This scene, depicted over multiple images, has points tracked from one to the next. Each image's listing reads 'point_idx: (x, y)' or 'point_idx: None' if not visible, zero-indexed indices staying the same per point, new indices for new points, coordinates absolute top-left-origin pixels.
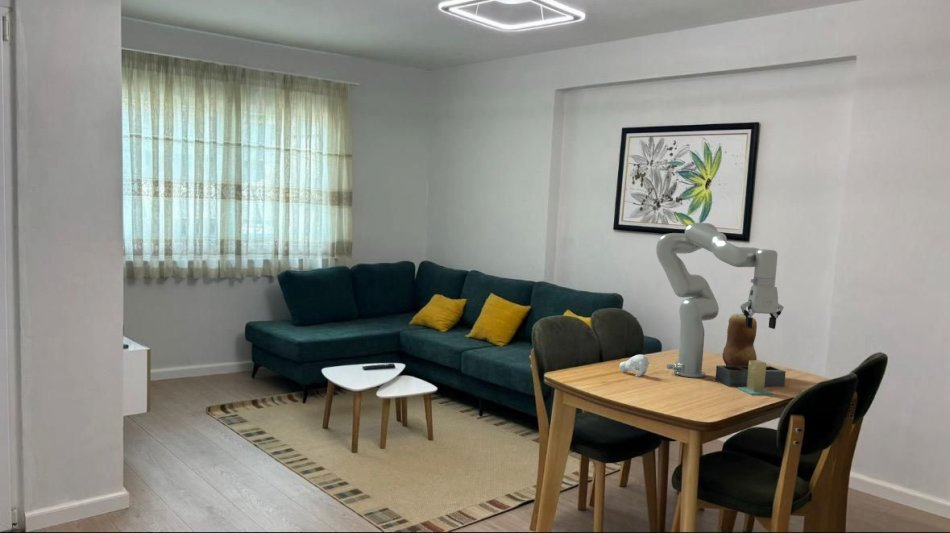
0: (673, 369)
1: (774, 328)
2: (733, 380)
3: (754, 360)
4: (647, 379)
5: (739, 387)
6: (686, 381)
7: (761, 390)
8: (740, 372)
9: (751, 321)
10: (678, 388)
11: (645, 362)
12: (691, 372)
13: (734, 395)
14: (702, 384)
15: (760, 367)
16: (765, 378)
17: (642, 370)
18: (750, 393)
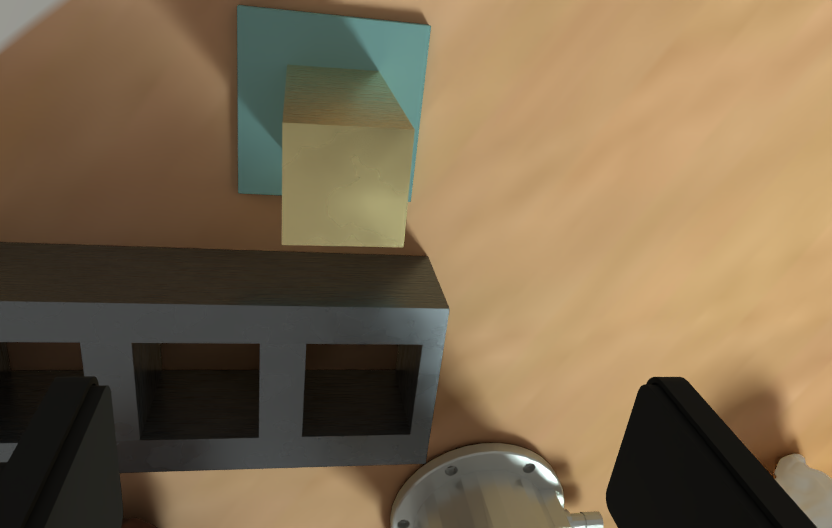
0: (596, 512)
1: (74, 376)
2: (405, 274)
3: (347, 235)
4: (787, 408)
5: None
6: (610, 373)
7: (309, 68)
8: (360, 302)
9: (758, 473)
10: (785, 230)
11: (824, 506)
12: (514, 479)
13: (566, 30)
14: (566, 310)
15: (348, 113)
16: (129, 274)
17: (809, 468)
18: (429, 38)
